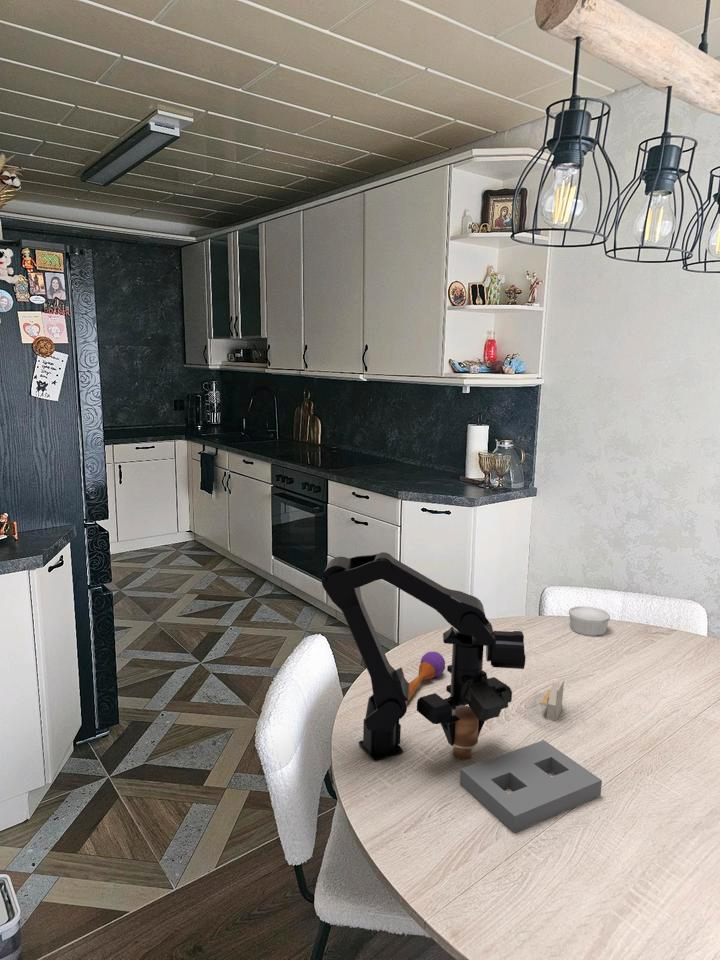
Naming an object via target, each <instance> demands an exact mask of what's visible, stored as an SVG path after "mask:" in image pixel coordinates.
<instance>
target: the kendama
mask: <svg viewBox="0 0 720 960" xmlns="http://www.w3.org/2000/svg"><path fill="white" fill-rule="evenodd" d="M445 669H446V661H445V657H444V656H443V655H442V654H441V653H439V652H438V651H428V652H426V653H424V654H423V656H422V657H421V658H420V664H419V667H418V675H417V676H416V677H415V678H414V679H413V680H411V681H410V682H408V683H409V698H408V701H407V704H408V703H409V701H410V700H411V699H412V697H413V695H414V693H415V692H416V691H417V689H418V688H419V686H420V684H421V683H422V681H423V680H429V679H430V680H431V679H433V678H438V677H440V676H441V675H442V674H443V673H444V671H445Z"/></svg>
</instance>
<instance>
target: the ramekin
mask: <svg viewBox="0 0 720 960" xmlns="http://www.w3.org/2000/svg"><path fill="white" fill-rule="evenodd" d="M568 615H569V624H570V628H571V629H572V630H573V631H574V632H575V633H578V634H579V635H583V634H584V635H583V636H588V635H590V637H598V636H597V635H599V636H602V635H604V634H605V633H606V631H607V629H608V626H609V621H610V619H611V616H610V613H609V612H607V611H606V610H604V609H602V608H597V607H595V606H589V605H588V606H587V605H586V606H585V605H583V606H581V605H578V606H572V607H570V608H569V609H568Z"/></svg>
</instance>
